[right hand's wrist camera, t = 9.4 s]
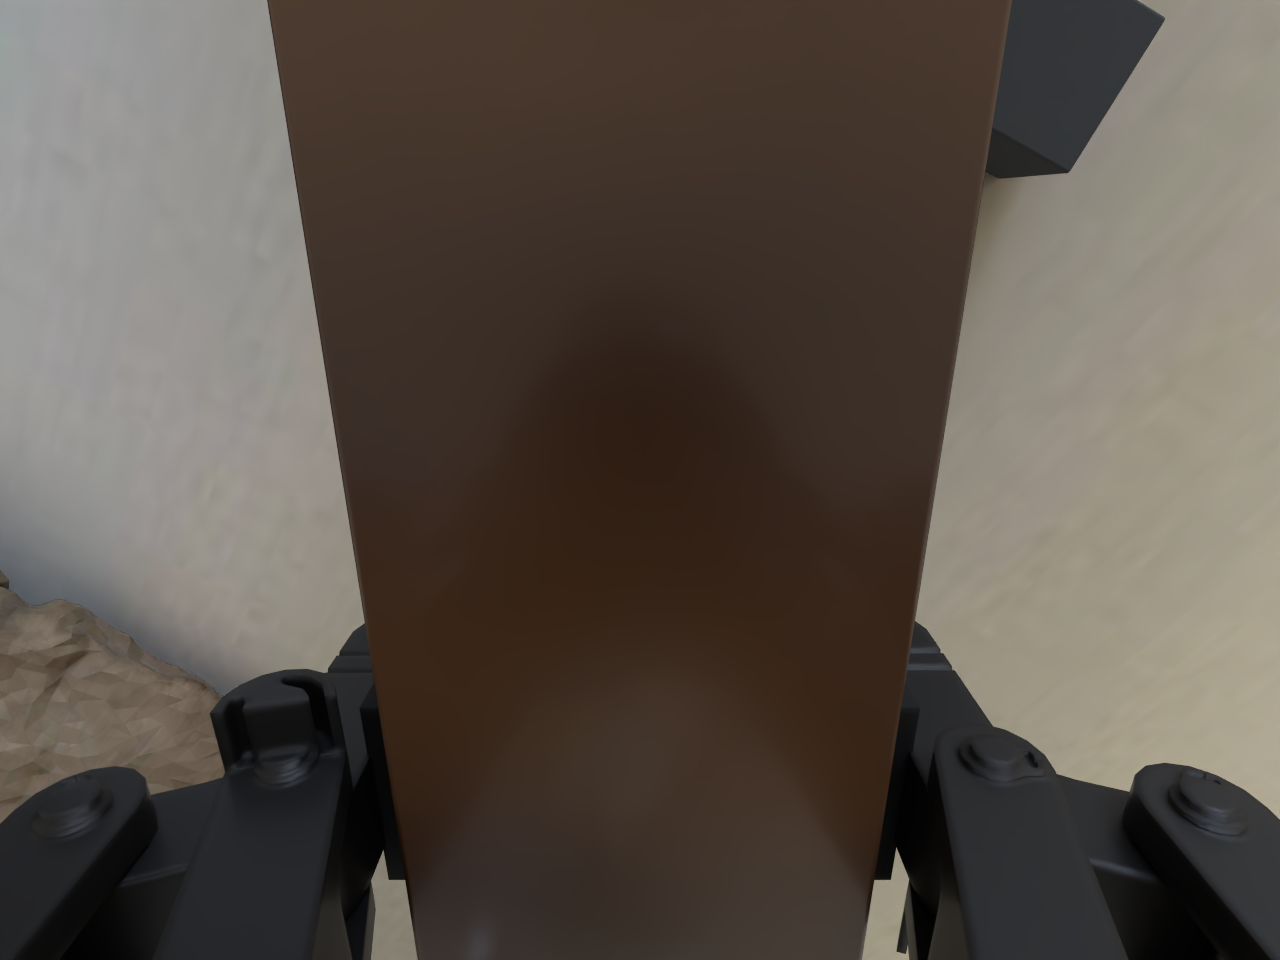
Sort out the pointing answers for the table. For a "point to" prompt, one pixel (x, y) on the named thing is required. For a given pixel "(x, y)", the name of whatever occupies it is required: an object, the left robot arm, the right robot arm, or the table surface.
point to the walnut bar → (639, 439)
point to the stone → (93, 704)
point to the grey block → (1062, 79)
